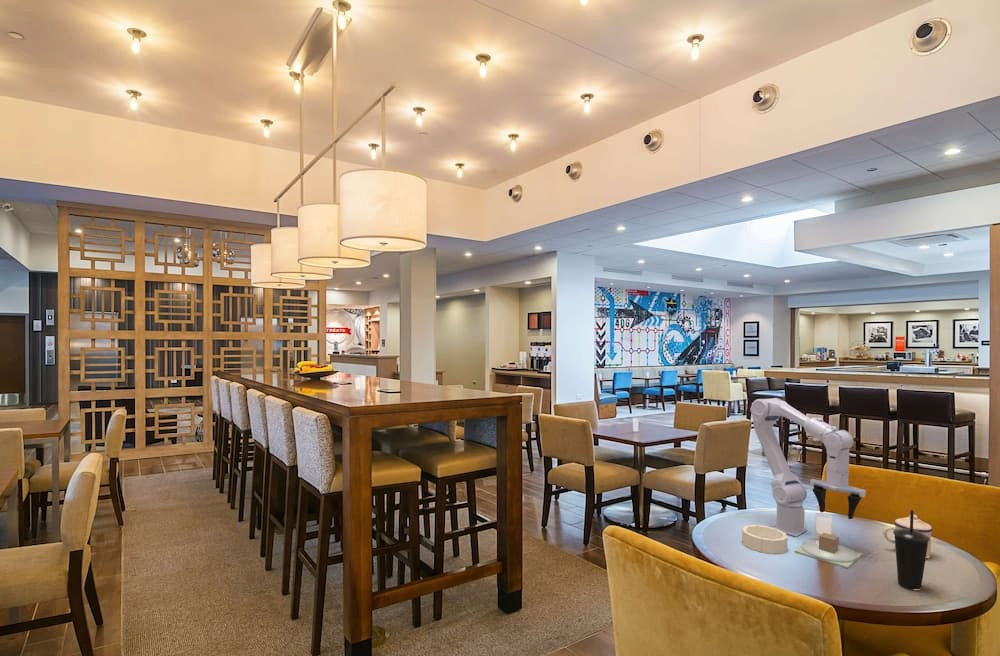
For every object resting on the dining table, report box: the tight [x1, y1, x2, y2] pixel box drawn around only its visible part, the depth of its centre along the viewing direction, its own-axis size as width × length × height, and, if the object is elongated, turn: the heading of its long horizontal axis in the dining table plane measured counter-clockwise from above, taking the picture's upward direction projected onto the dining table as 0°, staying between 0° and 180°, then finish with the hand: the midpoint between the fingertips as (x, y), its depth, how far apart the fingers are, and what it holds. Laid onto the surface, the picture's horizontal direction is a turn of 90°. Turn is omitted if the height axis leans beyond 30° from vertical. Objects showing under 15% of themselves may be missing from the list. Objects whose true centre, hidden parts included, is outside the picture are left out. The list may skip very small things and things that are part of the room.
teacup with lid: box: [883, 514, 933, 557], centre depth 165 cm, size 12×9×12 cm
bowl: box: [741, 524, 789, 555], centre depth 168 cm, size 12×12×4 cm
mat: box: [793, 538, 864, 570], centre depth 163 cm, size 14×14×1 cm
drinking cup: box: [892, 509, 930, 590], centre depth 143 cm, size 8×8×20 cm
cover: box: [801, 532, 857, 563], centre depth 163 cm, size 14×14×5 cm
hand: (836, 514), depth 167 cm, fingers open, 7 cm apart
